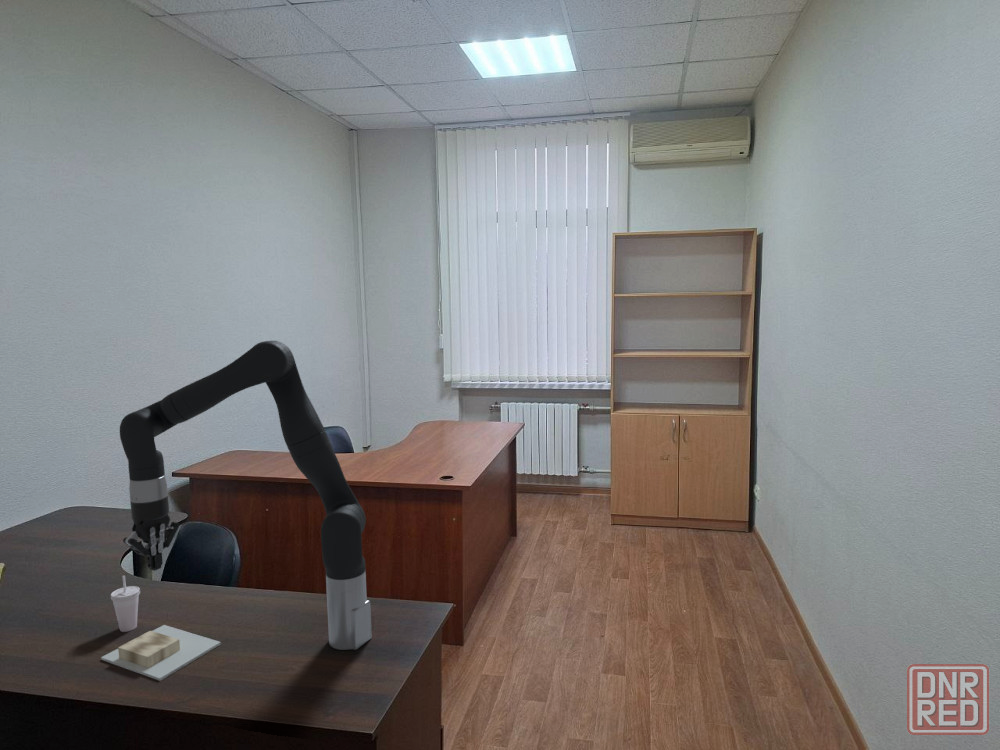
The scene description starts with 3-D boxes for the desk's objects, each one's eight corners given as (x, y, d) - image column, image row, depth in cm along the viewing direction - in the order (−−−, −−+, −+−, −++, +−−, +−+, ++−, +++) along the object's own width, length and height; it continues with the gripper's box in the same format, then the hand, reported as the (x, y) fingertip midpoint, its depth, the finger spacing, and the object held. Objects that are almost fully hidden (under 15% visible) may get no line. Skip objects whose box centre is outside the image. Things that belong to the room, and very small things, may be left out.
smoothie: (112, 637, 154) (107, 582, 153) (114, 625, 160) (110, 572, 158) (142, 630, 157) (138, 577, 156) (143, 619, 163) (139, 567, 161)
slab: (179, 639, 147) (147, 657, 140) (180, 650, 147) (148, 668, 140) (150, 630, 151) (118, 647, 144) (151, 641, 151) (119, 658, 144)
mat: (220, 644, 150) (220, 641, 150) (160, 680, 136) (159, 678, 136) (164, 627, 159) (164, 624, 159) (101, 659, 145) (101, 657, 144)
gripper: (132, 506, 136) (139, 583, 138) (185, 489, 148) (191, 560, 150) (110, 502, 139) (117, 577, 141) (164, 486, 151) (170, 555, 153)
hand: (155, 568), depth 145 cm, fingers closed
